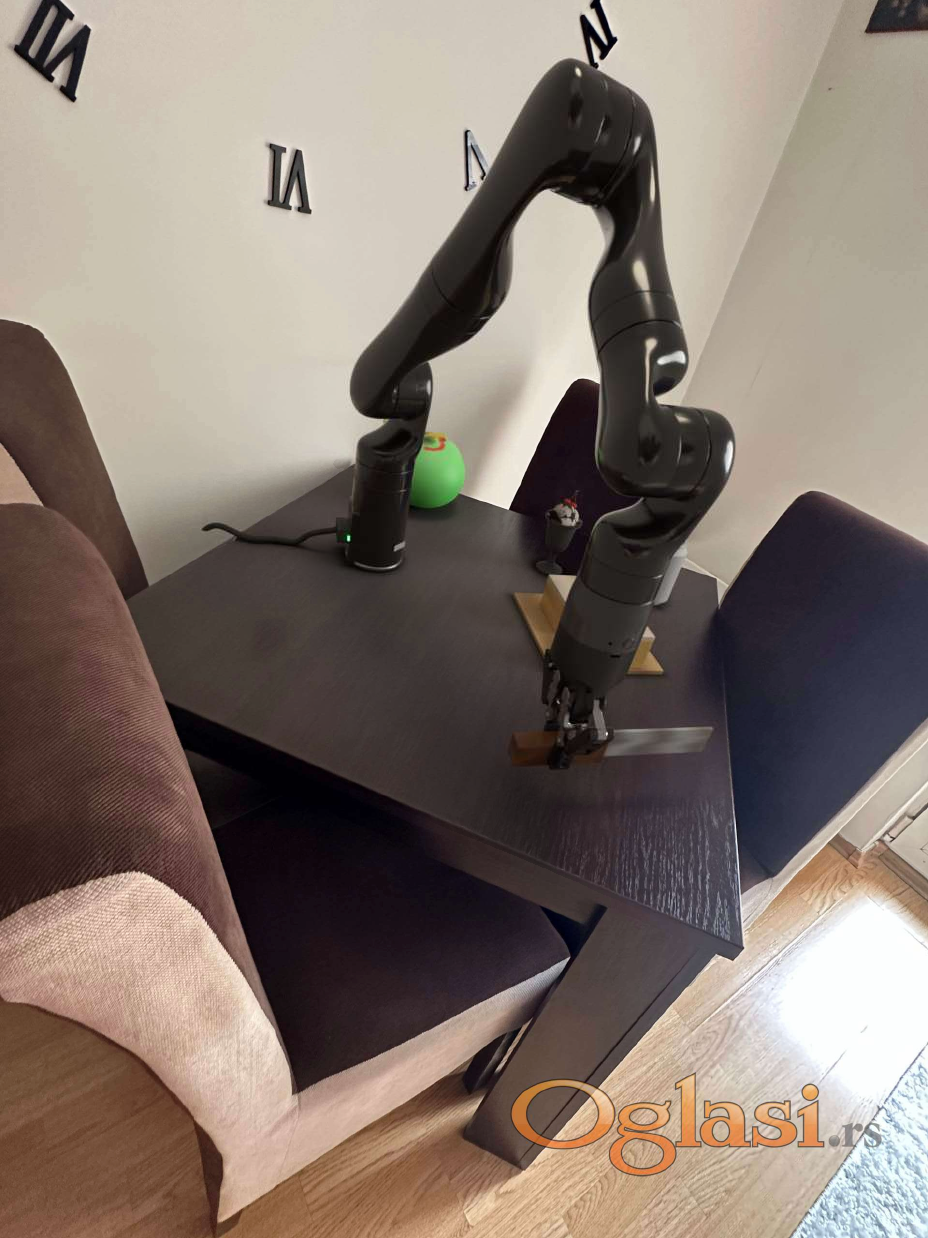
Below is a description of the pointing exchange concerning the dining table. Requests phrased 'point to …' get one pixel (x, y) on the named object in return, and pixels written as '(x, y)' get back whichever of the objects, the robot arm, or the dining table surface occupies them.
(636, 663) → the cake slice
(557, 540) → the sundae
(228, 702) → the dining table surface
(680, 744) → the knife
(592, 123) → the robot arm
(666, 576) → the can
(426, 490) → the toy bird
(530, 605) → the wooden stepped base
